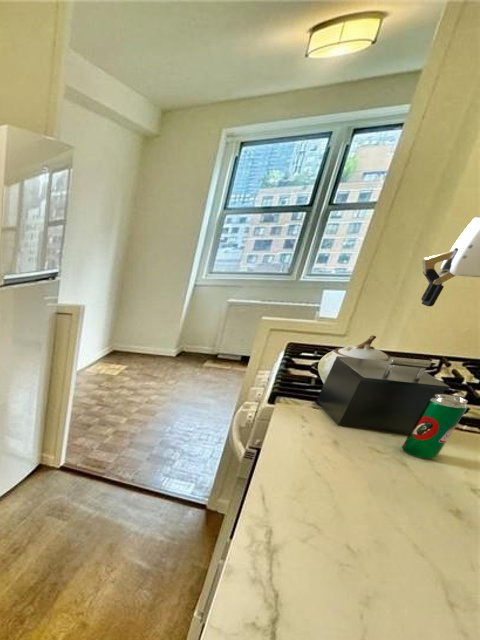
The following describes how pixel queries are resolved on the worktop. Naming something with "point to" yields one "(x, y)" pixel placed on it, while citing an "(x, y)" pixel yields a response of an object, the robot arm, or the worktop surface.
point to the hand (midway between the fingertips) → (459, 308)
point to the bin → (372, 402)
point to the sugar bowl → (354, 352)
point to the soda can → (434, 426)
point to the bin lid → (393, 371)
